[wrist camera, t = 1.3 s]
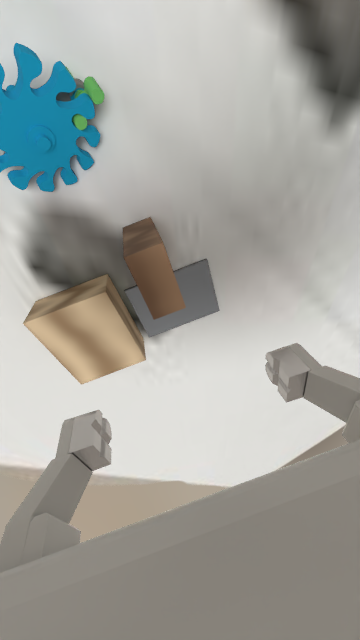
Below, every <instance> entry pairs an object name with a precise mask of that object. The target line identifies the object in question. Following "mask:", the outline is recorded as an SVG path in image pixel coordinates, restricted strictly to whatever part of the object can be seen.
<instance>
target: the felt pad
mask: <svg viewBox="0 0 360 640" xmlns="http://www.w3.org/2000/svg"><path fill="white" fill-rule="evenodd" d="M173 272H174V275H175V278H176V281H177V284H178V286H179V289H180V292H181V295H182V298H183V301H184V303H185V306H186V308H184V309H181V310H179V311H176V312H173V313H171V314H168V315H166V316H163V317H160V318H158V319H155V320H154V319H153V317H152V315H151V313H150V311H149V309H148V307H147V305H146V303H145V301H144V299H143V296H142V294H141V292H140V290H139V288H138V286H134V287H131V288H129V289H126V290H125V293H126V295H127V297H128V298H129V300H130V302H131V304H132V306H133V308H134V310H135V312H136V314H137V315H138V317H139V319H140V321H141V323H142V325H143V327H144V329H145V330H146V332H147V334H148V336H149V337H152V336H154V335H157V334H160V333H162V332H165V331H167V330H170V329H173V328H175V327H178V326H181V325H183V324H186V323H188V322H191V321H194V320H196V319H199V318H202V317H204V316H207V315H210V314H212V313H215V312H217V311H219V307H218V303H217V298H216V294H215V290H214V286H213V282H212V278H211V274H210V269H209V265H208V261H207V259H204V260H202V261H199V262H197V263H194V264H191V265H189V266H186V267H184V268H181V269H178V270H176V271H173Z"/></svg>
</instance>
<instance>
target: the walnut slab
mask: <svg viewBox="0 0 360 640" xmlns="http://www.w3.org/2000/svg"><path fill="white" fill-rule="evenodd" d="M123 251H124V259H125V261H126V263H127V265H128V267H129V270H130V272H131V274H132V276H133V278H134V280H135V282H136V284H137V286H138V288H139V290H140V292H141V294H142V296H143V299H144V301H145V303H146V305H147V307H148V309H149V311H150V313H151V315H152V317H153V319H154V320H155V319H158V318H160V317H163V316H166V315H168V314H171V313H173V312H176V311H179V310H181V309H184V308H186V306H185V303H184V301H183V298H182V295H181V292H180V289H179V286H178V284H177V281H176V278H175V275H174V272H173V269H172V267H171V264H170V261H169V258H168V255H167V252H166V250H165V247H164V244H163V241H162V239H161V237H160V235H159V233H158V231H157V229H156V227H155V225H154V223H153V221H152V219H151V217H149V218H147V219H144V220H142V221H139V222H136V223H134V224H131V225H129V226H126V227H123Z"/></svg>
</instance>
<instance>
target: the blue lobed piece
mask: <svg viewBox="0 0 360 640" xmlns="http://www.w3.org/2000/svg"><path fill="white" fill-rule="evenodd" d="M14 56H15V59H16V62H17V66H18V79H17V83H16V85H15V86H14V85H9V86H8V87H7V89H6V91H5V90H3V89H2V84H3V81H4V77H5V73H4V70H3V67H2V66H1V64H0V149H1V150H3V151H5V154H4V155H2V156H0V172H1V171H2V170H4V169H6V168H8V167H11V166H24V168H23V169H21V170H13V171H10V172H9V173H8V178H9V180H10V182H11V183H12V184H13V185H14V186H15V187H17V188H19V189H21V190H24V189H26V188H27V187H28V183H29V180H30V179H31V178H32V176H34V175H35V174H37V173H38V172H41V171H44V173H43V174H42V175H40V176H39V177H38V178H37V180H36V182H37V184H38V186H39V188H40V190H42V191H48V192H53V191H54V188H55V187H54V184H53V176H54V174H55V172H56V170H57V169H58V168H59V167H63V169H62V171H61V173H60V175H61V178H62V179H63V181H64V183H65V184H66V185H70V184H73V183H76V182H77V177H76V175H75V174H74V172H73V170H72V169H71V168H70V158H71V157H72V156H73V155H77V160H78V162H79V164H80V165H81V167H82V168H83V169H84V170H87V169H88V168H90V167H91V166H92V164H93V163H94V161H93V159H92V157H91V156H90V154H89V153H88V152H87V151H84V150H82V149H80V148H79V147H78V146H77V145H76V140H77V138H78V137H81V136H83V137H85V138H86V140H87V142H88V143H89V145H90V146H92V147H96V146H97V145H98V143H99V140H100V133H99V132H98V130H97V129H96V127H94V126H93V125H88V126H87V120H86V119H93V118H94V117H95V110H94V105H93V102H94V103H95V104H101V103H102V102H103V100H104V93H103V91H102V90H101V88H100V87H99V85H98V84H97V82H96V81H95V79H94V78H93V77H87V78H86V79H85V80H84V83H83V82H82V81H81V80H79V79H74V78H73V76H72V75H71V73H70V72H69V70H68V69H67V67H65V66H64V65H63V64H62V62H61V61H58V62H56V63H55V64H54V66H53V71H52V74H51V77H50V79H49V80H48V81H47V83H46V84H44V85H43V86H41V87H40V88H38V89H33V88H31V87H30V82H31V81H32V80H33V79H34V78H36V77H38V76H39V75H40V74H41V71H42V63H41V61H40V60H39V58H38V56H37V55H36V53H34V52H33V51H32V50H31V49H29V48H28V47H26V46H24V45H21V44H18V43H16V44H15V46H14ZM91 99H92V100H91Z"/></svg>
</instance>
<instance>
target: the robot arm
mask: <svg viewBox="0 0 360 640" xmlns="http://www.w3.org/2000/svg"><path fill="white" fill-rule="evenodd" d="M266 360H267V361H268V362H267V363H266V365H265V366H266V372H267V375H268V377H269V379H270V381H271V382H272V383H273V384H275V385H277V386H278V392H279V393H280V395H281V396H282V397H283V399H284V400H285V401H286V402H289V401H292V400H295V399H298V398H302V397H304V398H305V399H306V400H308V401H310V402H311V403H313V404H315V405H317V406H318V407H320V408H322V409H324V410H325V411H327V412H329V413H330V414H332V415H334V416H336V417H337V418H339V419H341V420H342V421H344V422H346V425H345V428H344V430H343V433H342V435H343V437H344V438H345V439H346V440H347V442H348V443H349V444H347V445H344V446H341V447H338V448H336V449H333V450H330V451H327V452H325V453H322V454H319V455H317V456H314V457H311V458H309V459H306V460H303V461H301V462H298V463H296V464H292V465H290V466H287V467H284V468H282V469H279V470H276V471H273V472H271V473H268V474H265V475H263V476H260V477H257V478H255V479H252V480H249V481H246V482H244V483H241V484H238V485H236V486H233V487H230V488H228V489H225V490H222V491H220V492H217V493H214V494H212V495H209V496H206V497H203V498H201V499H198V500H195V501H192V502H190V503H187V504H184V505H182V506H179V507H176V508H174V509H171V510H169V511H166V512H163V513H160V514H158V515H155V516H152V517H150V518H147V519H144V520H141V521H139V522H136V523H133V524H130V525H128V526H125V527H122V528H120V529H117V530H114V531H112V532H109V533H106V534H104V535H101V536H98V537H96V538H93V539H90V540H87V541H85V542H82V543H80V534H81V531H80V530H79V529H78V528H76V527H74V526H72V525H70V524H69V522H70V520H71V518H72V516H73V514H74V512H75V509H76V507H77V505H78V503H79V501H80V499H81V496H82V494H83V492H84V490H85V488H86V486H87V484H88V481H89V479H90V477H91V475H92V473H93V472H92V471H94V470H97V469H99V468H102V467H104V466H107V465H110V464H111V448H110V446H109V445H108V444H109V442H110V440H111V427H110V424H109V422H108V420H107V419H105V418H102V413H101V411H100V410H96V411H93V412H90V413H87V414H83V415H80V416H77V417H74V418H71V419H67V420H65V421H64V422H63V424H62V428H61V433H60V438H59V443H58V448H57V453H56V458H55V459H53V460H52V461H51V462H50V463H49V465H48V466H47V468H46V469H45V471H44V472H43V473H42V475H41V476H40V478H39V479H38V481H37V482H36V483H35V485H34V486H33V488H32V489H31V491H30V492H29V493H28V495H27V496H26V498H25V499H24V501H23V502H22V503H21V505H20V506H19V508H18V509H17V511H16V512H15V513H14V515H13V516H12V518H11V519H10V521H9V522H8V524H7V525H6V527H5V531H4V534H3V537H2V541H1V544H0V640H360V378H357V377H355V376H352V375H349V374H347V373H344V372H341V371H339V370H336V369H333V368H330V367H328V366H323V367H322V366H321V365H320V364H319V363H318V362H317V361H316V360H315V359H314V358H313V357H312V356H311V355H310V354H309V353H308V352H307V351H306V350H305V349H304V348H303V347H302V346H301V345H300V344H298V343H295V344H292V345H289V346H286V347H282V348H279V349H277V350H274V351H271V352H268V353H267V354H266Z"/></svg>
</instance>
